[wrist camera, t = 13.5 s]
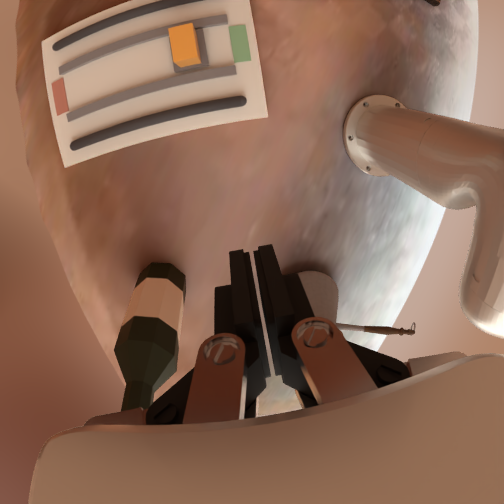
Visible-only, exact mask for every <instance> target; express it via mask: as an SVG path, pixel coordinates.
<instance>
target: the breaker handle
mask: <svg viewBox="0 0 504 504" xmlns="http://www.w3.org/2000/svg"><path fill="white" fill-rule="evenodd" d="M168 30H169V43H170V49H171V55H172V61H173V67H174V72H175V73H178V72H182V71H187V70H191V69H196V68H201V67H206V66H209V61H208V55H207V49H206V43H205V37H204V31H203V29H202V30H196V31H195V29H194V26H193V24H192V23H189V24H184V25H180V26H175V27H171V28H168Z"/></svg>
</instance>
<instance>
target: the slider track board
mask: <svg viewBox="0 0 504 504" xmlns="http://www.w3.org/2000/svg"><path fill="white" fill-rule="evenodd" d="M156 1H160V0H131V1H128V2H125V3H123V4H120V5H117V6H115V7H112V8H109V9H107V10H104V11H102V12H100V13H97V14H95V15H93V16H90V17H88V18H86V19H84V20H82V21H80V22H77V23H75V24H73V25H71V26H69V27H67V28H65V29H64V30H62V31H60V32H58V33H56V34H54V35H53V36H51V37H49V38H47V39H46V40H44V41H42V52H43V63H44V71H45V79H46V86H47V92H48V98H49V104H50V109H51V114H52V119H53V124H54V128H55V132H56V137H57V141H58V145H59V149H60V153H61V156H62V160H63V163H64V167H65V168H66V167H69V166H71V165H74V164H77V163H79V162H82V161H85V160H88V159H90V158H93V157H96V156H99V155H102V154H105V153H108V152H111V151H114V150H117V149H121V148H124V147H127V146H131V145H134V144H138V143H141V142H145V141H148V140H152V139H156V138H160V137H164V136H168V135H172V134H176V133H180V132H185V131H189V130H194V129H199V128H204V127H209V126H214V125H220V124H225V123H231V122H237V121H244V120H250V119H257V118H265V117H268V113H267V106H266V99H265V92H264V85H263V79H262V72H261V66H260V59H259V53H258V47H257V41H256V35H255V29H254V24H253V18H252V13H251V7H250V2H249V0H204V1H198V2H193V3H188V4H183V5H179V6H175V7H171V8H167V9H163V10H159V11H155V12H152V13H148V14H145V15H142V16H139V17H136V18H133V19H130V20H127V21H124V22H121V23H118V24H116V25H113V26H110V27H108V28H105V29H103V30H100V31H98V32H96V33H93V34H91V35H89V36H87V37H84V38H82V39H80V40H78V41H76V42H74V43H72V44H70V45H68V46H66V47H64V48H62V49H60V50H58V51H54V50H53V49H52V46H53V44H54V43H55V42H57V41H59V40H61V39H63V38H65V37H66V36H68V35H70V34H72V33H74V32H77V31H79V30H81V29H83V28H85V27H87V26H89V25H92V24H94V23H96V22H99V21H101V20H103V19H106V18H108V17H111V16H114V15H116V14H119V13H122V12H124V11H127V10H130V9H133V8H136V7H139V6H142V5H146V4H149V3H153V2H156ZM189 23H192V24H193V26H194V29H195V31H196V30H202V29H203V31H204V37H205V43H206V49H207V55H208V61H209V66H206V67H201V68H196V69H191V70H187V71H182V72H178V73H175V72H174V67H173V61H172V55H171V49H170V43H169V30H168V28H171V27H175V26H180V25H184V24H189ZM240 95H242V96H244V97H246V99H247V103H246V105H244V106H242V107H236V108H230V109H224V110H218V111H213V112H207V113H202V114H197V115H193V116H188V117H184V118H179V119H175V120H171V121H167V122H163V123H159V124H155V125H151V126H148V127H144V128H141V129H137V130H134V131H131V132H127V133H124V134H121V135H118V136H115V137H112V138H109V139H106V140H103V141H100V142H97V143H94V144H92V145H89V146H86V147H84V148H81V149H78V150H76V151H72V150H71V149H70V143H71V142H72V141H74V140H76V139H79V138H81V137H84V136H87V135H89V134H92V133H94V132H97V131H100V130H103V129H106V128H108V127H111V126H114V125H117V124H120V123H123V122H127V121H130V120H133V119H136V118H140V117H143V116H147V115H150V114H154V113H158V112H161V111H165V110H169V109H173V108H177V107H182V106H186V105H191V104H195V103H200V102H205V101H210V100H216V99H221V98H227V97H234V96H240Z"/></svg>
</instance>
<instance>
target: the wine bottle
mask: <svg viewBox="0 0 504 504" xmlns="http://www.w3.org/2000/svg"><path fill="white" fill-rule="evenodd" d="M185 294H186V281H185V275H184V274H183V273H181V272H180V271H179V270H178V269H177V268H176V267H175V266H173V265H172V264H170V263H151V264H150V265H149V266H148V267H147V268H146V269H144V270H143V271H142V272H141V273H140V275H139V278H138V281H137V283H136V286H135V289H134V291H133V294H132V297H131V300H130V302H129V305H128V308H127V311H126V314H125V317H124V320H123V323H122V326H121V329H120V332H119V335H118V339H117V342H116V345H115V348H114V352H115V355H116V357H117V360H118V363H119V366H120V368H121V371H122V374H123V376H124V379H125V382H126V388H125V393H124V398H123V403H122V409H121V411H126V410H130V409H135V408H140V407H142V408H143V410H144V409H148V408H149V407H150V406H151V405H152V403H153V398H154V392H155V391H156V390H157V389H158V388H159V387H161V386H162V385H163V384H164V383H165V382H166V381H167V380H168V379H169V378H170V377H171V376H172V375H173V374H174V373H175V372H176V371H177V360H178V351H179V342H180V333H181V324H182V316H183V309H184V301H185Z"/></svg>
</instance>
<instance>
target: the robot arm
mask: <svg viewBox="0 0 504 504" xmlns="http://www.w3.org/2000/svg"><path fill="white" fill-rule="evenodd" d="M363 103H364V106H363ZM395 105H396V106H395ZM348 136H350V138H348ZM343 140H344V145H345V148H346V151H347V154H348V156H349V157H350V159H351V160H352V162H353V163H354V164H355V165H356V166H357V167H358V168H360V169H361V170H362V171H364V172H366V173H367V174H370V175H373V176H380V177H381V176H389V175H392V176H394V177H395V178H397V179H399V180H400V181H402V182H404V183H405V184H407V185H409V186H410V187H412V188H414V189H415V190H417V191H419V192H420V193H422V194H423V195H425V196H426V197H428V198H430V199H431V200H433V201H434V202H436V203H438V204H439V205H441V206H443V207H446V208H449V209H455V210H459V209H465V208H470V207H473V206H475V205H476V215H475V221H474V229H473V234H472V238H471V242H470V246H469V250H468V254H467V258H466V261H465V265H464V269H463V273H462V276H461V281H460V286H459V302H460V305H461V308H462V311H463V312H464V314H465V316H466V317H467V319H468V320H469V321H470V322H471V323H472V324H473V325H475V326H476V327H477V328H479V329H480V330H482V331H484V332H486V333H488V334H490V335H493V336H495V337H499V338H502V339H504V129H499V128H494V127H488V126H483V125H479V124H475V123H471V122H466V121H463V120H459V119H455V118H450V117H445V116H441V115H437V114H432V113H427V112H422V111H417V110H411V109H407V108H406V107H405V106H404V105H403V104H402V103H401V102H399V101H398V100H396V99H395V98H392V97H390V96H386V95H371V96H367V97H365V98H362V99H361V100H359V101H358V102H357V103H356V104H355V105H354V106H353V107H352V108H351V110H350V111H349V113H348V115H347V117H346V120H345V123H344V129H343ZM366 167H367V168H366ZM253 252H254V258H255V265H256V271H257V277H258V283H259V289H260V295H261V301H262V307H263V313H264V318H265V323H266V328H267V333H268V338H269V344H270V349H271V354H272V359H273V364H274V369H275V374H276V376H278V375H282V380H283V383H284V384H286V385H288V386H290V387H292V388H294V389H295V393H296V396H297V398H298V400H299V402H300V405H301V407H302V409H300V410H296V411H291V412H285V413H280V414H274V415H268V416H262V417H258V409H259V398H258V396H259V394H260V393H261V392H262V391H263V390H264V389H265V388H266V380H265V378H266V377H271V374H270V368H269V363H268V357H267V351H266V345H265V340H264V334H263V328H262V322H261V317H260V311H259V306H258V300H257V294H256V289H255V283H254V278H253V272H252V266H251V261H250V255H249V252H246V253H244V252H243V249H241V250H236V251H230V252H229V257H230V273H231V285H226V286H220V287H215V306H214V335H213V336H211V337H209V338H208V339H206V340H205V341H204V342H203V343H202V344H201V346H200V348H199V351H198V355H197V359H196V364H195V367H194V368H193V369H192V370H191V371H189V372H188V373H187V374H186V375H185V376H184V377H183V378H181V379H180V380H179V381H178V382H177V383H176V384H175V385H173V386H172V387H171V388H170V389H169V390H168V391H166V392H165V393H164V394H163V395H162V396H160V397H159V398H158V399H157V400H156V401H155V402H153V403H152V405H151V406H150V407H149V408H148V409H144V410H143V408H142V407H140V408H135V409H130V410H126V411H121V412H116V413H110V414H105V415H99V416H95V417H92V418H90V419H89V420H88V421H86V423H85V424H84V426H82V427H76V428H72V429H69V430H65V431H62V432H59V433H57V434H55V435H54V436H52V437H50V438H49V439H48V440H47V441H46V442H45V444H44V445H43V447H42V449H41V451H40V453H39V456H38V459H37V462H36V465H35V469H34V473H33V478H32V482H31V488H30V494H29V503H28V504H504V355H502V354H494V353H489V354H477V355H472V356H466V355H465V354H464V353H461V352H450V353H444V354H438V355H432V356H426V357H419V358H413V359H409V360H408V362H405V363H403V362H401V361H399V360H397V359H395V358H392V357H390V356H387V355H384V354H381V353H378V352H376V351H373V350H370V349H368V348H365V347H362V346H360V345H357V344H354V343H352V342H349V341H346V339H345V338H344V336H343V335H342V333H341V332H340V330H339V329H338V328H337V326H336V325H335V324H334V323H333V322H332V321H330V320H328V319H326V318H322V317H315V315H314V313H313V310H312V307H311V305H310V302H309V300H308V297H307V295H306V292H305V290H304V287H303V285H302V282H301V280H300V277H299V275H298V273H294V274H289V275H283V276H282V274H281V271H280V267H279V264H278V261H277V258H276V255H275V252H274V249H273V246H272V244H270V245H264V246H259V247H258V250H257V251H253Z"/></svg>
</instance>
